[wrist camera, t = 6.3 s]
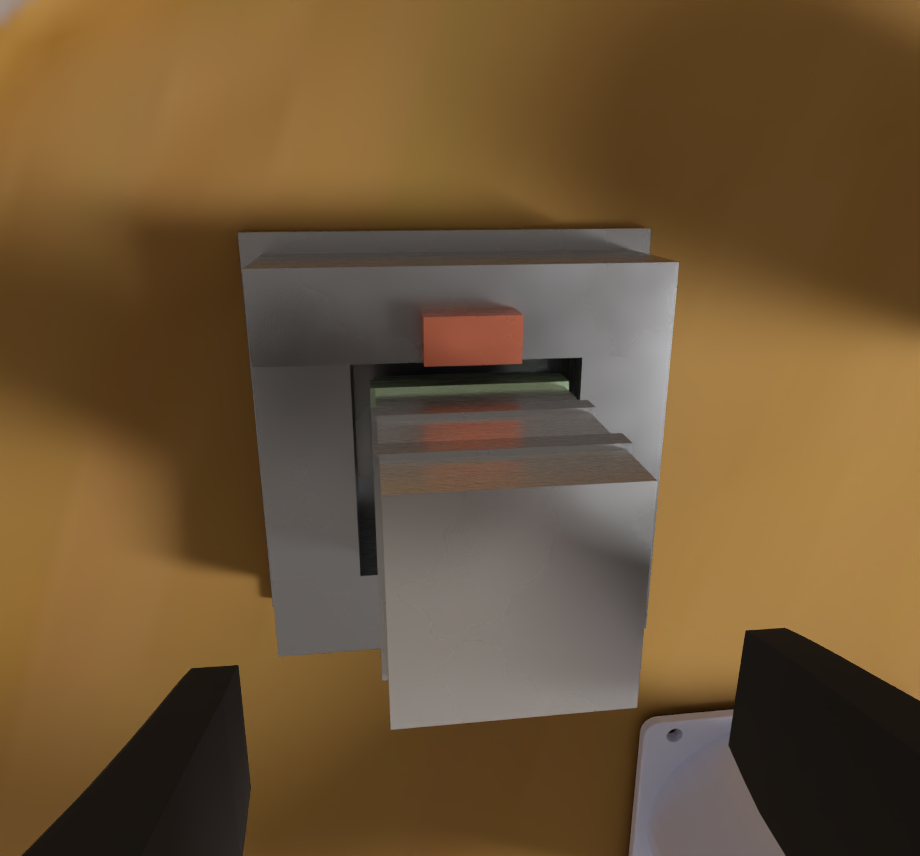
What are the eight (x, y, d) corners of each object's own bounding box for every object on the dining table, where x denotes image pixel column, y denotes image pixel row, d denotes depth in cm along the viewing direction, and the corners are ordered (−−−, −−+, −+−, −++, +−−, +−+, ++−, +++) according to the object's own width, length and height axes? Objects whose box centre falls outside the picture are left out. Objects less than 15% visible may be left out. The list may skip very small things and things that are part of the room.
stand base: (645, 227, 19) (721, 240, 15) (619, 576, 22) (675, 663, 18) (240, 231, 18) (205, 246, 14) (274, 599, 21) (254, 698, 17)
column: (553, 366, 17) (664, 474, 11) (546, 531, 18) (642, 712, 12) (369, 372, 16) (374, 488, 10) (376, 541, 18) (384, 735, 12)
